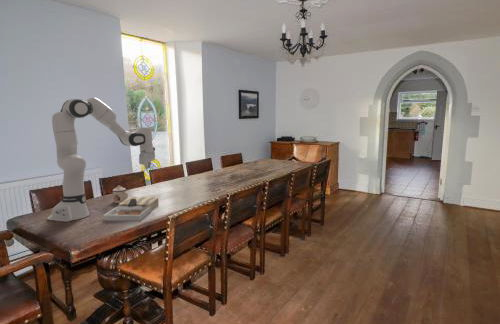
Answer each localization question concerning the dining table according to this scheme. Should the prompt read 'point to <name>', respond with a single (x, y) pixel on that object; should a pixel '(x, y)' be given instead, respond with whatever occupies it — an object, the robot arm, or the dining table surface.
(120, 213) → the tile left
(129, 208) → the scraper
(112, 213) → the box
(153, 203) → the beige rectangular tray
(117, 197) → the teacup with lid
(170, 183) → the dining table surface
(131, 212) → the tile right
